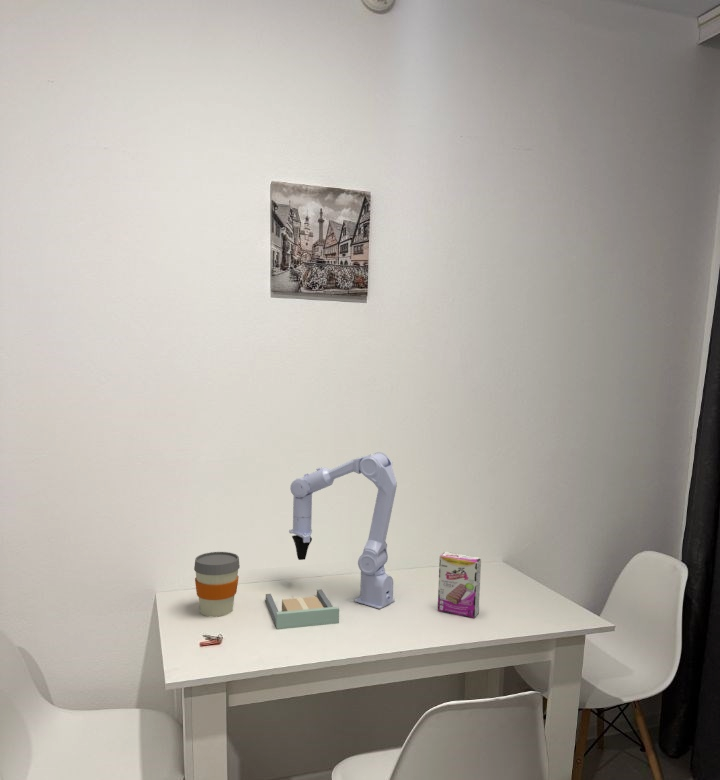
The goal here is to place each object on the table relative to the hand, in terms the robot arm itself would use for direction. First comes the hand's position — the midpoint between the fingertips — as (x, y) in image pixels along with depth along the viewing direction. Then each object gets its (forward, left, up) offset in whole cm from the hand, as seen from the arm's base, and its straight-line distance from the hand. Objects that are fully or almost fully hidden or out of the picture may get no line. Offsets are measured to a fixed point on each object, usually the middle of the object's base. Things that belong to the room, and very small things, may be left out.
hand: (301, 559), depth 199 cm
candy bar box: (-47, -15, -10) cm, 50 cm away
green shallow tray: (-12, +13, -9) cm, 20 cm away
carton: (-15, +16, -10) cm, 24 cm away
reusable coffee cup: (+7, +28, -10) cm, 30 cm away
